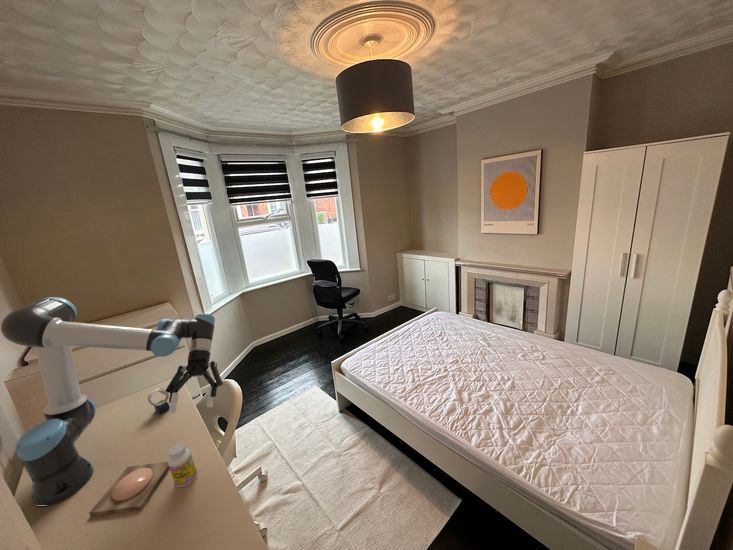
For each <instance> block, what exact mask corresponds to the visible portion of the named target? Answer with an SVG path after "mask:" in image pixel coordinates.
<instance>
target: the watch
mask: <svg viewBox="0 0 733 550" xmlns="http://www.w3.org/2000/svg"><path fill="white" fill-rule="evenodd" d="M165 390H166V389H164V388H162V387H159V388H155V389H153V390H151V391H150V392H149V394H148V397H147V402H148V403H149V404H150V405H151V406H153V407H154V410H155V412H157V413H158V414H159V415H162V414H164V413H166V412H168V411H169V408H170V403H169V398H170V393H169V392H166V391H165ZM156 392H159V393H161V394H162V395H163V396H165V398H164V399H162V400H161V401H159V402H157V403H154V402H152V401H151V398H152V396H153V394H155V393H156Z"/></svg>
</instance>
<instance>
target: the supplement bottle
mask: <svg viewBox="0 0 733 550" xmlns="http://www.w3.org/2000/svg"><path fill="white" fill-rule="evenodd" d="M168 456H169V458H168V459H167V462H168V465H169V468H170V469H169V470H170V473H171V476H172V480H173V482H174V485H175V486H176V487H178V488H183V487H186V486H188V485H190V484H191V483H192V482H193V481H194V480H195V479H196V477H197V474H198V470H197V467H196V463H195V461H194V458H193V455H192V452H191V449H189V448H187V447H186V445H185V443H183V442H180V443H176V444H175V445H173V446H172V447H170V449H169V450H168Z"/></svg>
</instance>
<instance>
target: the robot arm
mask: <svg viewBox="0 0 733 550" xmlns="http://www.w3.org/2000/svg"><path fill="white" fill-rule="evenodd" d="M77 313H78V310H77V308H76V306H75V305H74V304H73V303H72V302H71V301H69V300H67V299H66V298H63V297H58V296H49V297H45V298H40V299H38V300H37V299H36V300H35V301H34V302H31V303H29V304H26V305H24V306H22V307H19V308H17V309H14V310H13V311H11V312H9V313H8V314H7V315H6V316H5V317H4V318H3V319H2V321H1V324H0V331H1V334H2V336H3V337H4V338H5V339H6V340H8V341H9V342H11V343H13V344H16V345H19V346H25V347H31V348H34V349H35V354H36V357H37V361H38V365H39V369H40V370H39V371H40V374H41V378H42V382H43V386H44V391H45V396H46V400H47V405H46V406H45V407H44V408H43V413H44V414H43V416H44V419H45V420H44V421H42V422H40V423H38V424H36V425H34V426H33V427H32V428H30V429H28V430H27V431H26V432H24V434H22V435H21V436H20V437H19V438H18V440H17V442H16V444H15V450H16V453H17V458H18V459H19V460H20V462H21V463H22V466H23V467H24V468H25V470H26V472H27V474H28V476H29V479H30V480H31V482H32V488H31V489H32V490H31V491H32V494H31V500H32V503H33V504H34V505H35V504H36V505H49V506H51V505H50V504H52V505H54V503H55V504H57V503H59V502H61V501H63V500H66V499H67V498H68V497H70V496H71V495H73V494H75V493H76V492H77V491H79V490H80V489H81V488H83V486H84V485H86V484H87V482H89V481H90V479H91V478H92V476H93V474H94V472H95V471H94V468H93V467H94V466H93V465H92V464H91V462H90V461H88V460H87V459H86V458H84V457H83V456H82V455H80V454H79V452H78V449H77V447H76V445H75V443H76V441H77V440H78V439H79V438H80V436H81V435H82V434H83V433H84V432H85V430H86V429H87V427H88V426H89V425H90V424H91V423H92V421H93V420H94V417H95V416H96V413H97V407H96V404H95V403H94V401H93V399H92V400H90V399H89V398H88V396H87V394H83V393H82V392H81V388H80V382H79V378H78V373H77V368H76V364H75V360H74V355H73V350H72V349H73V348H72V347H84V348H99V349H100V348H101V349H102V348H103V349H113V350H114V349H116V350H133V351H147V352H148V351H149V352H151V353H152V354H153V355H155V356H157V357H161V358H163V357H164V358H165V357H168V356H170V355H172V354H173V353H174V352H175V351H176V350H177V349H178V347H179V345H180V343H181V340H183V339H191V341H190V345H189V352H188V356H187V365H185V366H183V365H179V366H178V368H177V370H176V373H175V374H174V376H173V377H172V379H171V381H170V382H169V384H168V385H167V387H166V389H164V390H165V391H166V392H168V393H169V398H168V403H169V406H170V408H169V410H168V413H173V414H174V413H175V414H176V411H177V407H178V401H179V396H180V395H179V394H180V393H178V392H179V391H180V390H181V389H182V387H184V385H185V384H186V383H188V381H189V380H190V379H191V378H192V377H193V378H194V377H202V376H203V378H204V379H205V380H206V381H207V382H208V384H209V385H210V387H209V388H208V391H207V392H208V393H207V401H206V408H213V407H214V406H213V404H214V398H215V397H217V393H218V392H217V391H218V390H217V389H218V387H220V386H224V385H223V383H224V382H223V380H222V378H221V375H220V373H219V370H218V363H217V362H215V361H214V360H211V361H210V359H211V350H212V344H213V337H214V331H215V322H216V321H215V320H216V319H215V316H214V315H212V314H209V313H198V314H197V315H195V318H194V319H193V318H191V319H183V318H181V319H180V318H162V319H160V320H159V321H158V324H157V327H156V329H152V328H151V329H150V328H139V327H129V326H120V325H119V326H118V325H107V324H97V323H84V322H74V320H75V319H76V317H77ZM209 368H210V370H211V373H212V375H213V377H212V376H211V374H210V372H208V369H209Z"/></svg>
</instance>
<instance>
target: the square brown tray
mask: <svg viewBox="0 0 733 550" xmlns="http://www.w3.org/2000/svg"><path fill="white" fill-rule="evenodd" d="M141 468H150V469H151V470H152V472H153V478H152V480H151V482H150V483H149V484H148V486H147V487H146V488H145V489H144V490H142V491H141V492H140V493H139V494H137V495H135V496H134V497H132V498H130V499H127V500H124V501H115V500H114V499H113V497H112V490H113V489H114V487H115V486H116V484H117V483H118V482H119V481H120V480H121V479H122V478H124V477H125V476H126V475H128V474H130V473H131V472H133V471H135V470H138V469H141ZM169 470H170V468H169V465H168V461H162V462H161V461H160V462H154V463H148V464H147V463H146V464H139V465H138V464H137V465H133V466H132V465H131V466H126V468H125V469H124V470H123V471H122V473H121V474H120V475H119V476H118V477H117V478H116V480H115V481H114V482H113V484H112V485H111V486H110V487H109V488H108V489H107V491H106V492H105V493H104V494H103V496H102V497H101V498H99V501H97V503H96V504H95V505H94V506H93V507H92V509H91V510H90V511H89V512H88V514H89V516H90V517H97V516H105V515H113V514H118V513H125V512H126V513H127V512H133V511H140V510H143V509H145V506H146V505H147V503H148V501H149V500H150V498H151V497H152V496H153V495H154V492H155V491H156V490H157V488H158V487H159V485H160V484H161V483H162V482H163V479H164V478H165V477H166V475H167V474H168V472H169Z"/></svg>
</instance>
